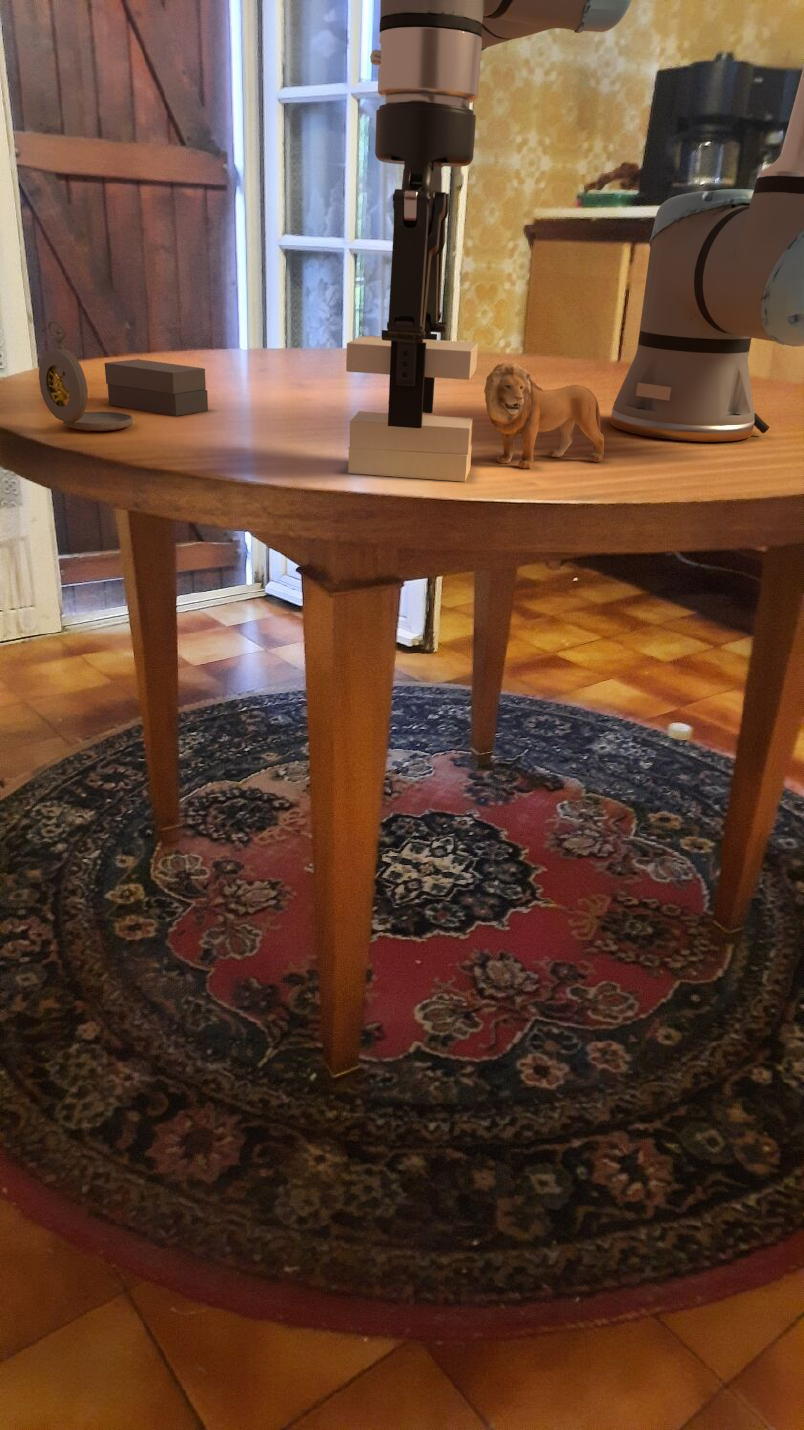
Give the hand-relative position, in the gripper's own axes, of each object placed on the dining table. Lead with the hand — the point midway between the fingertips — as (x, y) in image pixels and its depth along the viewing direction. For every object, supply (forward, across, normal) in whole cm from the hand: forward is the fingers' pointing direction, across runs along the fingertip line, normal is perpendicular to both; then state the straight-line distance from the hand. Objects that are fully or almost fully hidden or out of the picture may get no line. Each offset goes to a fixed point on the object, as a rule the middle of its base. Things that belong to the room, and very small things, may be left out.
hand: (411, 418), depth 86 cm
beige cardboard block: (+4, 0, 0) cm, 4 cm away
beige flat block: (-4, 0, 0) cm, 4 cm away
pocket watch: (+5, -9, -33) cm, 34 cm away
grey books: (+5, -23, -31) cm, 39 cm away
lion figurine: (+5, -7, +11) cm, 14 cm away
